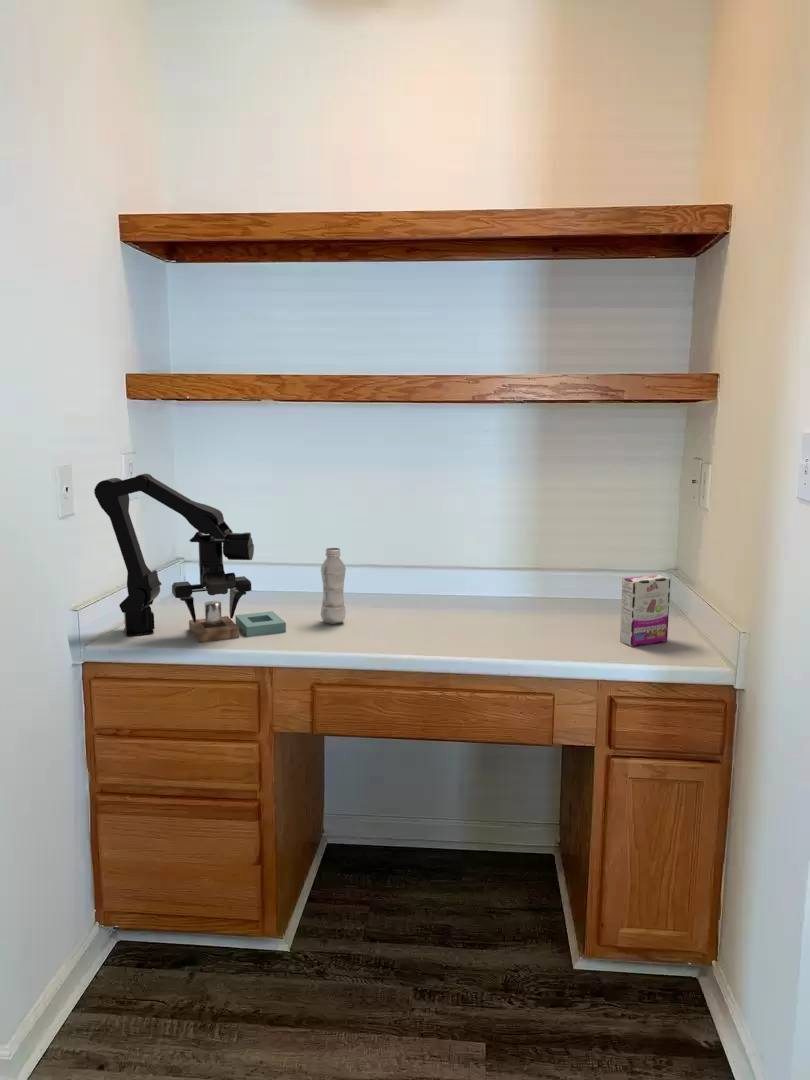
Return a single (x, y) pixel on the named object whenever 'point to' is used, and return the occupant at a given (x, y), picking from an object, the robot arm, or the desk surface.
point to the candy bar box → (645, 610)
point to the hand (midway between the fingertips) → (213, 620)
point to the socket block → (214, 630)
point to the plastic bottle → (333, 587)
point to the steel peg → (213, 614)
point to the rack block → (260, 623)
